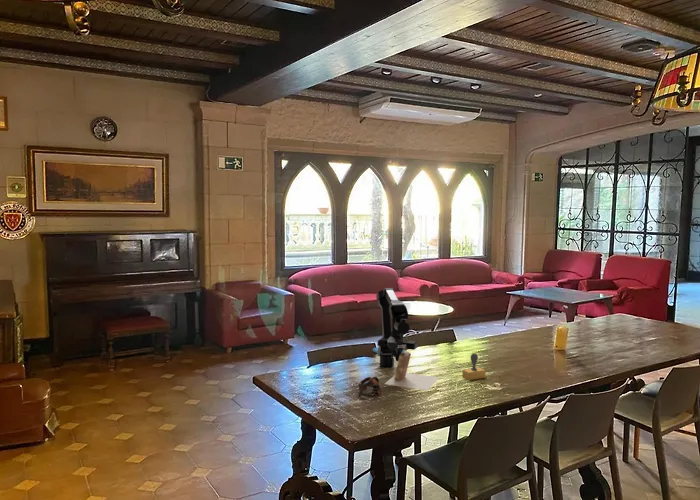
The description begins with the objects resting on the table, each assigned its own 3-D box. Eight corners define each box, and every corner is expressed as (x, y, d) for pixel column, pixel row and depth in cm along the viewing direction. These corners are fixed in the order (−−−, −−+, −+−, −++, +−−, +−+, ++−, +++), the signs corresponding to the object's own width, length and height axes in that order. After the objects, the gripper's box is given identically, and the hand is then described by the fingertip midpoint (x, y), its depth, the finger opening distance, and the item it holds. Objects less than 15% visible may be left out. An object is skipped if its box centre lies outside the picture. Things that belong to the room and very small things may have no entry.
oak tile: (393, 379, 251) (399, 355, 249) (399, 374, 258) (405, 350, 256) (400, 381, 250) (406, 357, 248) (405, 376, 257) (411, 353, 255)
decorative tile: (384, 358, 293) (384, 354, 292) (372, 352, 305) (372, 348, 305) (406, 355, 299) (406, 351, 299) (394, 349, 311) (394, 345, 311)
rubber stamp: (468, 380, 254) (469, 355, 253) (461, 376, 259) (462, 352, 258) (485, 377, 258) (486, 353, 257) (478, 374, 263) (479, 350, 262)
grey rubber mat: (384, 384, 247) (384, 383, 247) (398, 372, 265) (398, 371, 265) (427, 391, 238) (427, 390, 238) (439, 378, 256) (439, 377, 256)
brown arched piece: (379, 399, 230) (369, 383, 229) (362, 404, 235) (352, 389, 234) (387, 384, 240) (378, 369, 239) (371, 389, 245) (362, 375, 244)
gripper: (373, 330, 249) (373, 363, 250) (410, 334, 241) (410, 368, 243) (381, 326, 259) (381, 357, 261) (418, 329, 252) (417, 361, 253)
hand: (397, 361), depth 254 cm, fingers closed
